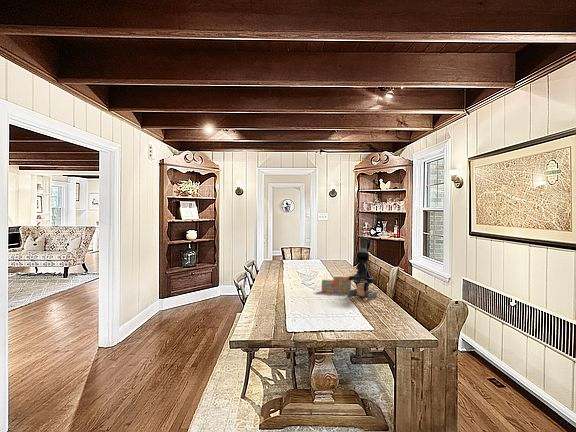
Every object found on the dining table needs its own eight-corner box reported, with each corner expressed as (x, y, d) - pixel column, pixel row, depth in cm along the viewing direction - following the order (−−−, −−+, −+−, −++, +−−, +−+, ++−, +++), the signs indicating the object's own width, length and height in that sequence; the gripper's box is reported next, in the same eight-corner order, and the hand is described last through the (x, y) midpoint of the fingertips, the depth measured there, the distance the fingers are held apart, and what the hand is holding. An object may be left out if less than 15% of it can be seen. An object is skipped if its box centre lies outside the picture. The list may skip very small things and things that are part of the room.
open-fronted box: (355, 294, 332) (355, 288, 331) (376, 297, 321) (376, 291, 321) (347, 296, 323) (347, 290, 323) (368, 299, 312) (368, 294, 312)
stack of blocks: (321, 292, 336) (321, 276, 336) (321, 291, 342) (322, 274, 342) (350, 293, 334) (351, 276, 334) (350, 292, 341) (350, 275, 341)
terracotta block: (360, 294, 325) (360, 282, 325) (366, 295, 322) (366, 283, 322) (356, 295, 321) (357, 283, 321) (362, 296, 318) (363, 284, 318)
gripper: (344, 269, 321) (344, 291, 321) (368, 271, 309) (367, 294, 309) (353, 267, 329) (352, 289, 330) (376, 270, 317) (375, 292, 318)
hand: (361, 291), depth 321 cm, fingers closed on terracotta block, 5 cm apart
